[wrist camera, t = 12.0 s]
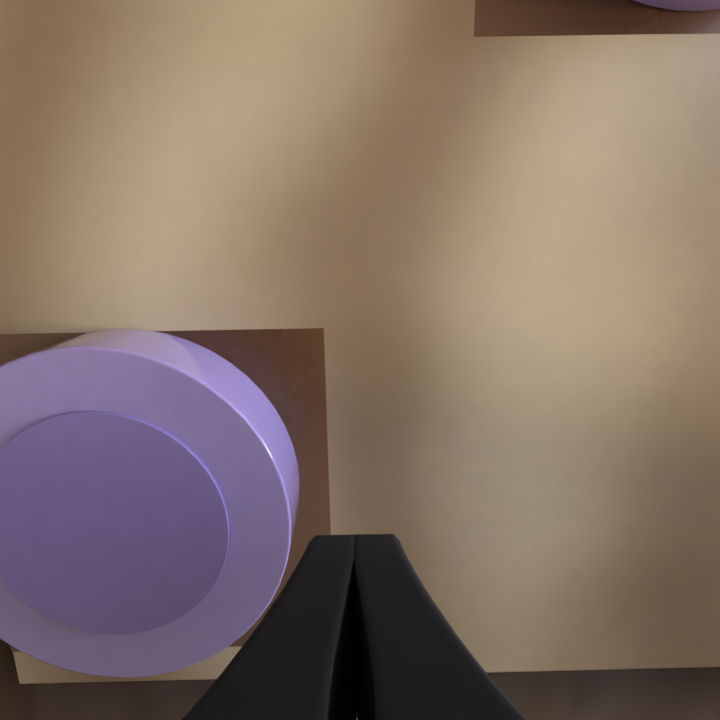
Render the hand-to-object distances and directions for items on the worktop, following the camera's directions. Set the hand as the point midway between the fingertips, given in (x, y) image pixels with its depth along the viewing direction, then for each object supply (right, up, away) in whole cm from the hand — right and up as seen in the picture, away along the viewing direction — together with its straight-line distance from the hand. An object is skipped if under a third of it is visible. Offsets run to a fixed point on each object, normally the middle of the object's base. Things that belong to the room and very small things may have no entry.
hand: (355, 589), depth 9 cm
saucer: (-5, +1, +4) cm, 6 cm away
